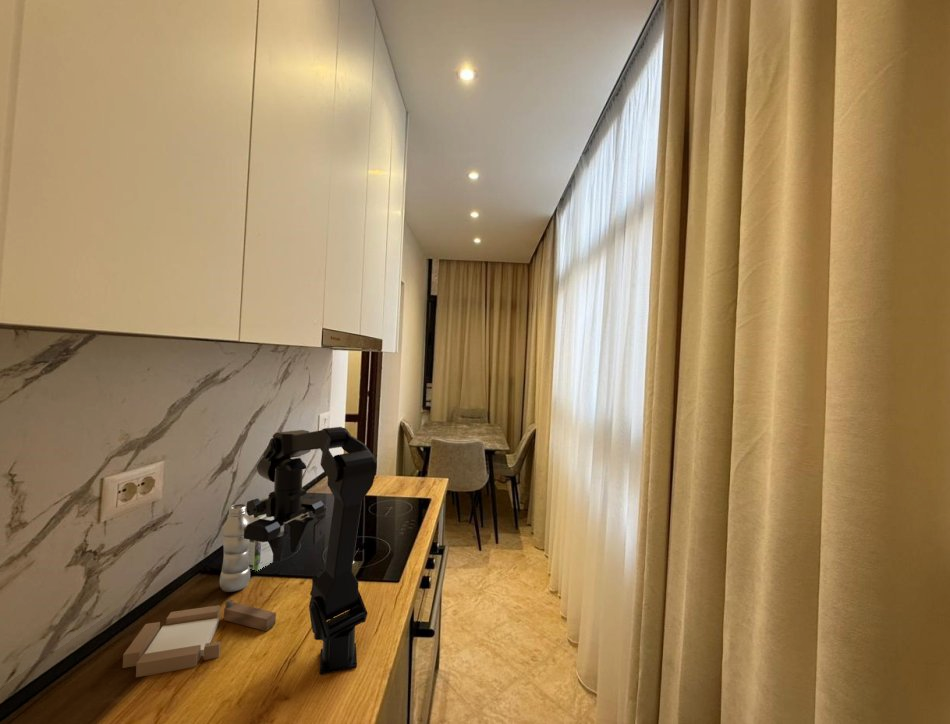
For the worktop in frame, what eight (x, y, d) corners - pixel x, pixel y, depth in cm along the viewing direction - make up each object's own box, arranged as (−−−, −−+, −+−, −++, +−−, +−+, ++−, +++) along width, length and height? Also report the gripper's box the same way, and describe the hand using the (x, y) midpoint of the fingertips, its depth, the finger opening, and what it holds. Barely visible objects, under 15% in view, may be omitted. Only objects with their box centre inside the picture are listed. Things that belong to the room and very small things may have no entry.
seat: (216, 663, 75) (216, 650, 75) (113, 681, 70) (113, 667, 70) (236, 613, 89) (236, 602, 89) (152, 626, 84) (152, 614, 84)
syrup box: (239, 568, 108) (241, 514, 109) (257, 558, 114) (259, 507, 114) (256, 572, 107) (258, 517, 107) (273, 562, 112) (275, 509, 113)
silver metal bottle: (240, 578, 104) (243, 500, 104) (255, 586, 100) (258, 505, 100) (213, 590, 98) (216, 507, 98) (228, 599, 95) (231, 513, 95)
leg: (221, 620, 87) (221, 604, 87) (230, 614, 89) (231, 598, 89) (266, 632, 83) (267, 616, 83) (275, 625, 86) (275, 609, 86)
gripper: (288, 473, 103) (286, 535, 102) (224, 494, 85) (221, 569, 85) (326, 477, 99) (324, 541, 99) (267, 501, 82) (264, 579, 81)
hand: (285, 556), depth 91 cm, fingers open, 4 cm apart
